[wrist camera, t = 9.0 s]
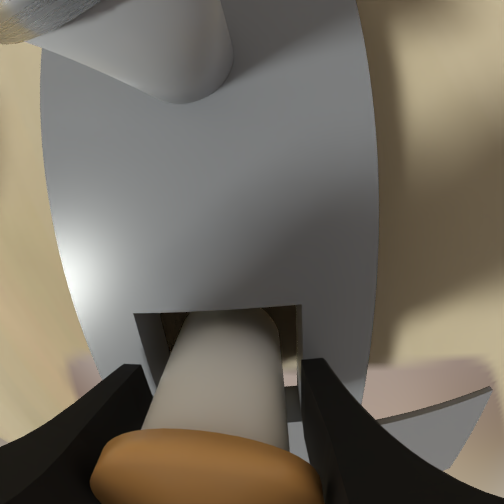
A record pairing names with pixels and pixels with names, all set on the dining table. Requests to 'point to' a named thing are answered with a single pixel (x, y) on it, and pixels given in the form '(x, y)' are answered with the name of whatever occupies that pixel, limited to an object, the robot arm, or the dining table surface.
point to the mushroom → (212, 424)
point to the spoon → (36, 17)
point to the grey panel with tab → (214, 174)
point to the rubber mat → (439, 427)
